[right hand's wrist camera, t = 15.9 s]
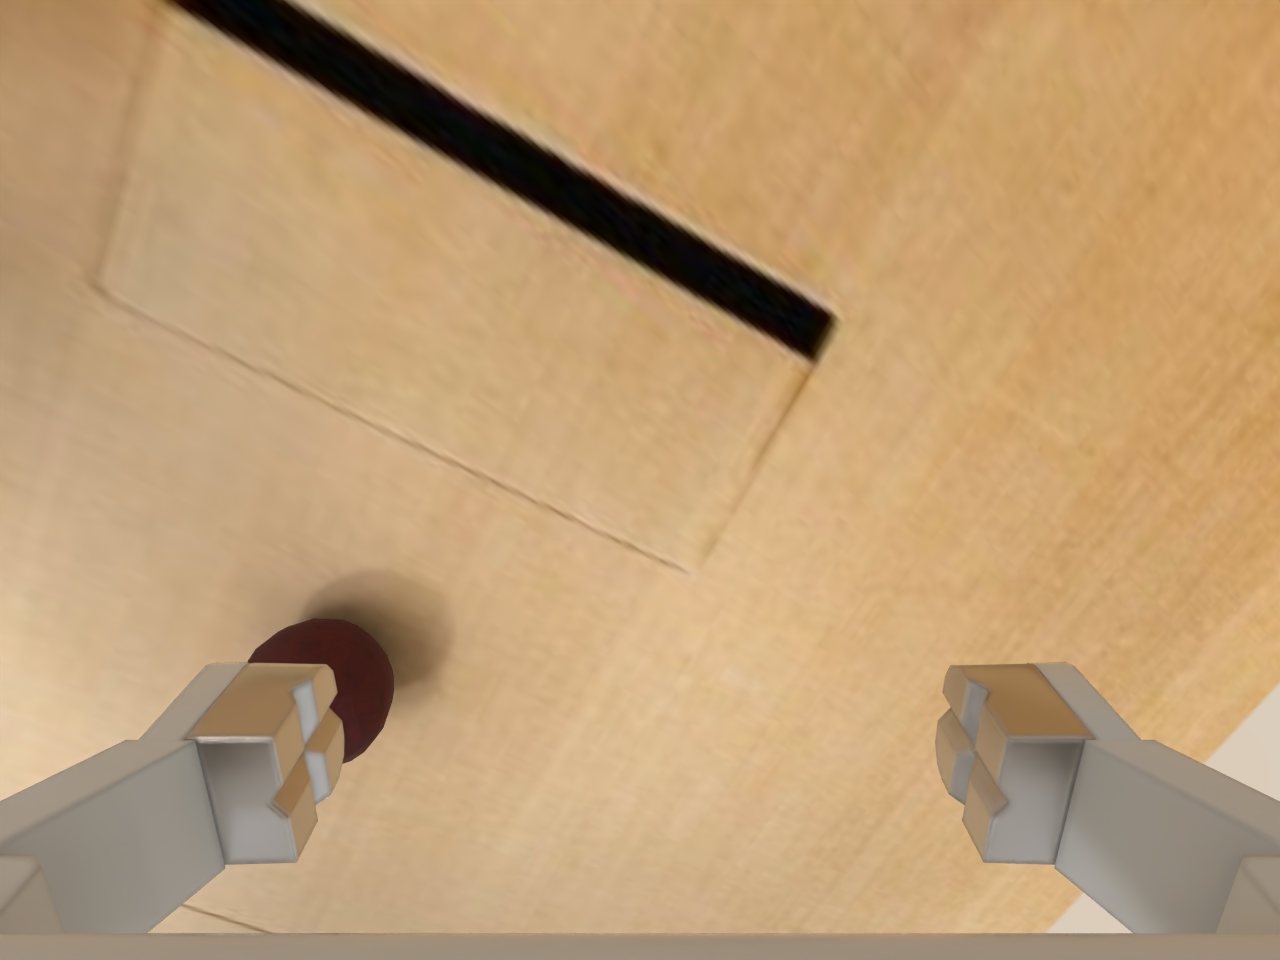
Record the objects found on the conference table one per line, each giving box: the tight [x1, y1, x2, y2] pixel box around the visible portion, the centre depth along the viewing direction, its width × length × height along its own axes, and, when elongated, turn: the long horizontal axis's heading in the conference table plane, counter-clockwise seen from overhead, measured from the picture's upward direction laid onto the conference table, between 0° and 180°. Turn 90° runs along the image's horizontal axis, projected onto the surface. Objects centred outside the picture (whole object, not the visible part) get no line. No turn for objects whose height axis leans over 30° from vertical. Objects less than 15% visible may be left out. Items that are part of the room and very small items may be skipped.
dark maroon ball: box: [248, 619, 394, 764], centre depth 41 cm, size 7×8×7 cm
